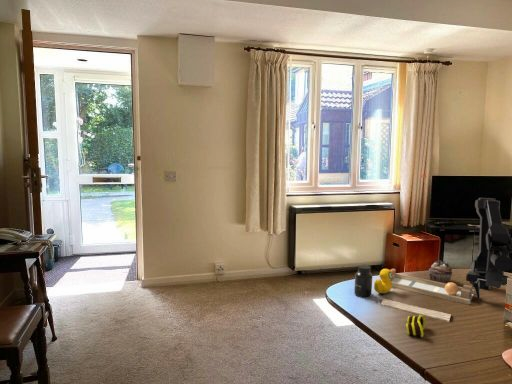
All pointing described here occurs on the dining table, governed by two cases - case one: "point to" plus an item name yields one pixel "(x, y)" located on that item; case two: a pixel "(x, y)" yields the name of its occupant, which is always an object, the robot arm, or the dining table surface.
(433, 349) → the dining table surface
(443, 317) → the beige long flat bar
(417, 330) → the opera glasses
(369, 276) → the supplement bottle
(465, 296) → the paddle block
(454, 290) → the ball
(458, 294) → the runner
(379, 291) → the duckling
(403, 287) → the lane rails
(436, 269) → the cupcake
